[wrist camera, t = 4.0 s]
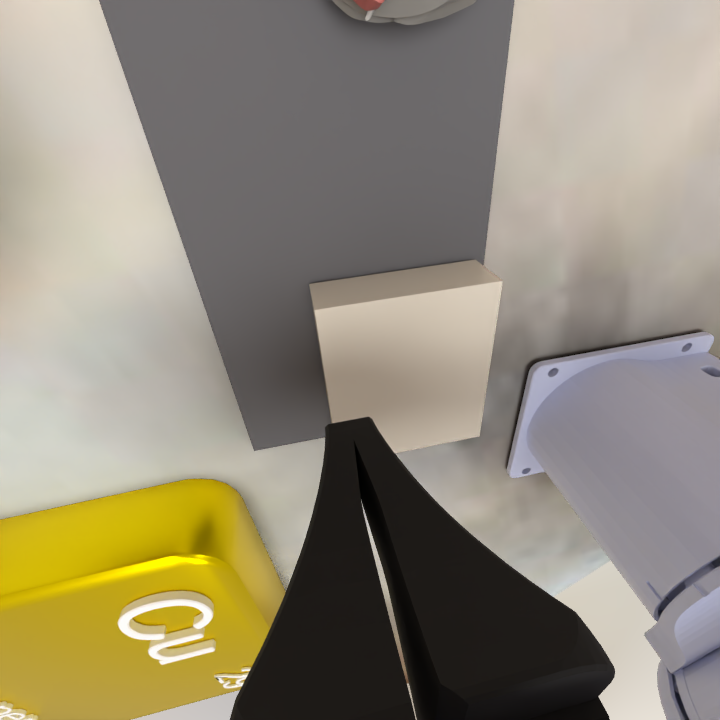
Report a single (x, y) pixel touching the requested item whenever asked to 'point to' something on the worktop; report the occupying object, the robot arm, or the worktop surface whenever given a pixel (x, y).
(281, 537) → the worktop surface
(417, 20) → the figurine
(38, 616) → the element tile
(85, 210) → the worktop surface
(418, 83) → the mat
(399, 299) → the tile
